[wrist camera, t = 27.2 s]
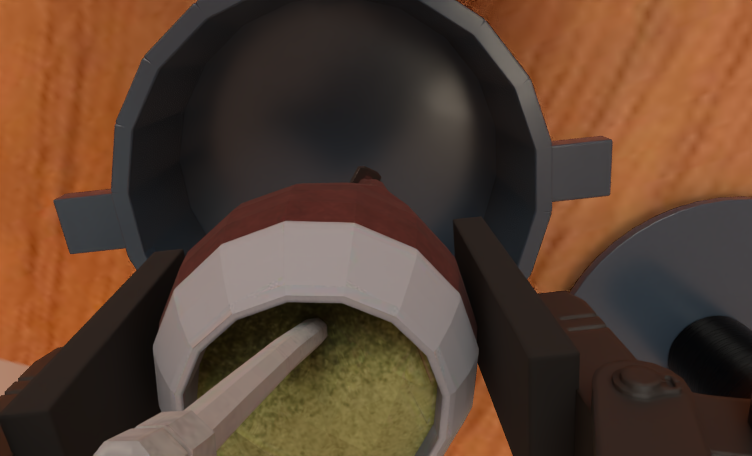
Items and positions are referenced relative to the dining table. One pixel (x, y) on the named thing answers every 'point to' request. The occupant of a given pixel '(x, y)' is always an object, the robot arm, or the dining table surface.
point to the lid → (683, 293)
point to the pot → (331, 124)
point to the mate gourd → (312, 333)
